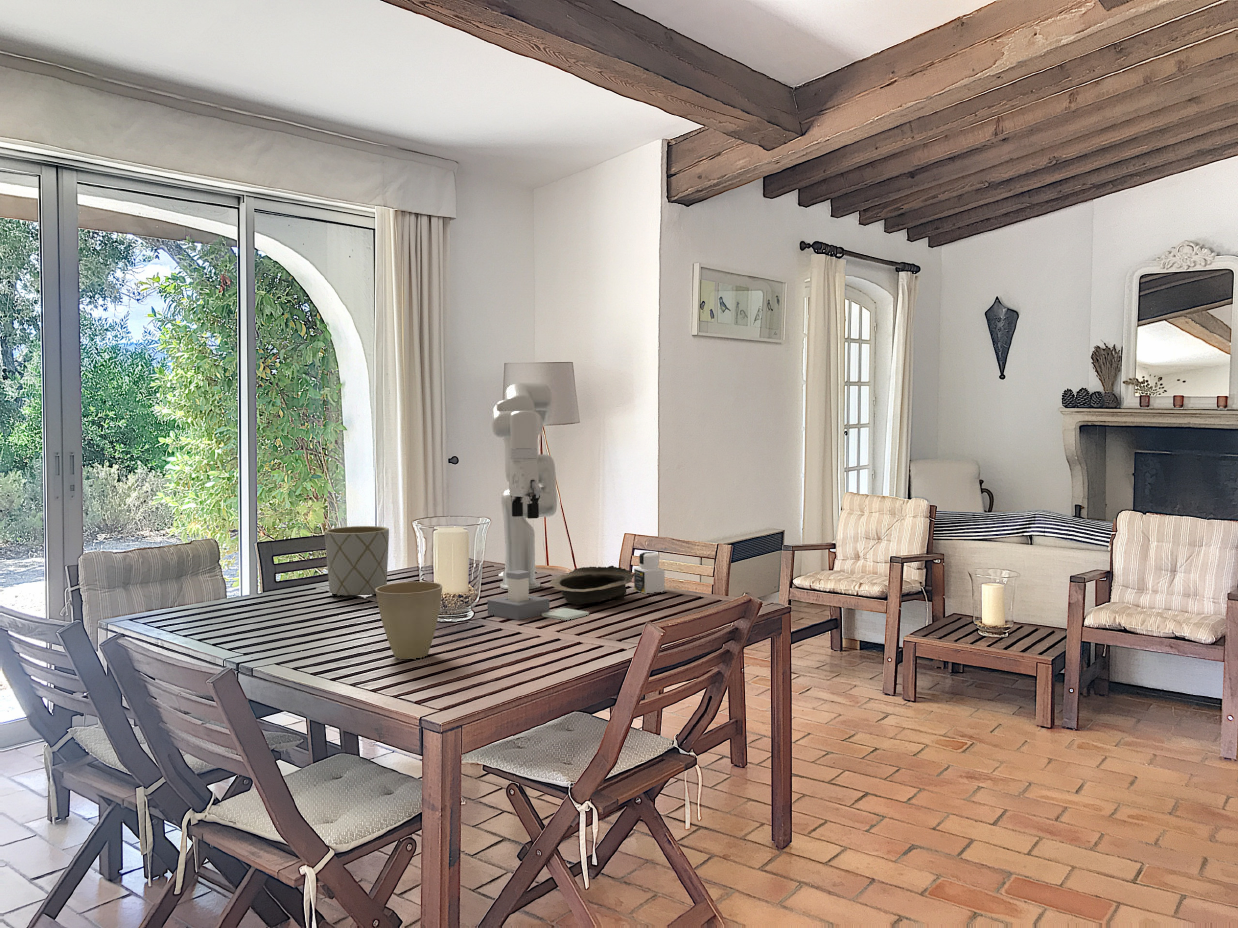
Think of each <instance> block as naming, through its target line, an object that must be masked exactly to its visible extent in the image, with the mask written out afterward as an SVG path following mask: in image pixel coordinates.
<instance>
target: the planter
mask: <svg viewBox="0 0 1238 928" xmlns="http://www.w3.org/2000/svg"><path fill="white" fill-rule="evenodd" d="M323 534H324V544H325V545H324V546H325V554H326V555H325V557H326V568H327V576H328V589H329V594H330V593H332V594H337V595H336V596H340V595H345V596H344V597H347V596H346V595H370V594H376V590H375V589H376V588H378V587H380V586H383V585H387V584H388V567H389V565H388V564H389V563H388V561H389V546H390V545H389V543H390V542H389V541H390V540H389V538H390V529H389V528H388V527H385V526H377V525H375V526H374V525H360V526H359V525H356V526H342V527H333V528H329V529H326V530H324V533H323Z"/></svg>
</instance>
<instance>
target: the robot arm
mask: <svg viewBox="0 0 1238 928" xmlns="http://www.w3.org/2000/svg"><path fill="white" fill-rule="evenodd" d="M553 399H554V398H553V392H552V389H551V387H550V385H548V384H546V383H545V382H544V383H543V382H517V383H513V384H511V385H509V386H508V387H507V388H506V390H505V393H504V399H502V400H499V401H498V402H497V403H496V404H495V406H494V407H493V410H492V414H491V428H492V432H493V434H494V435H495V436H496V437H497V438H501V439H503V444H504V470H505V471H504V473H505V478H506V480H507V482H508V489H507V488H506V490H503V492H502V493H501V494H502V495H501V497H500V499H501V500H500V501H501V509H502V515H503V527H504V570H503V571H502V572H501V573H498V578H500V579H502V582H500V584H499V585H500V588H501V589H504V590H508V578H506V572H510V571H516V570H522V571H529V572H530V578H529V590H532V589H537V588H540V587H541V582H540V581H539V580H536V540H535V539H536V538H535V537H536V536H535V530H534V527H533V526H532V524H530V523H529V521H528V520H527V519H529V520H530V519H539V518H549V517H552V516H554V515H555V514H556V512H557V510H558V499H557V497H558V495H557V476H556V465H555V461H554V459H553V457H552V456H551V455H549V454H543V453H542V454H539V441H538V440H539V438H538V437H539V436H540V434H541V433H542V431H543V429H544V425H547V424H548V423H550V420H551V418H552V417H551V416H552V409H553V403H554V401H553Z"/></svg>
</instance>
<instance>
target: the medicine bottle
mask: <svg viewBox="0 0 1238 928" xmlns="http://www.w3.org/2000/svg"><path fill="white" fill-rule="evenodd" d="M638 558H639V559H638V560H639V563H638V564H639V567H638V566H637V567H634V568H633V574H634V573H635V574H634V576H633V581H634V587H633V588H634V589H633V590H634V591H636V592H638V593H640V592H641V594H643V595H648V594H647V593H650V594H655V593H654V592H661V593H664V592H665V586H666V583H665V577H666V576H665V569H664V568H662V567H659V566H660V555H659V553H657V552H654V551H645V552H641V553H640V554H639V556H638ZM663 591H664V592H663Z"/></svg>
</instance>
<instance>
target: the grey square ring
mask: <svg viewBox="0 0 1238 928" xmlns="http://www.w3.org/2000/svg"><path fill="white" fill-rule="evenodd" d="M486 601H487V615H488V614H489V616H493V615H494V617H499V618H506V619H511V620H516V621H520V620H525V619H529V618H533V617H534V618H535V617H538V616H542V613H545V612H550V597H549V598H548V597H542V596H536V595H530V594H529V600H525V601H520V602H516V601H510V600H508V595H506V596H505V595H504V596H499V597H495V598H491V599H486Z"/></svg>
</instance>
